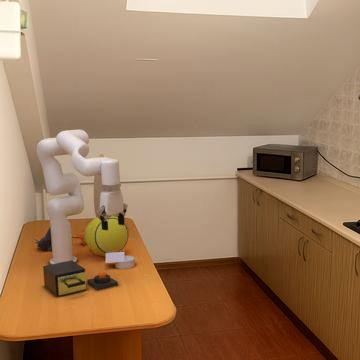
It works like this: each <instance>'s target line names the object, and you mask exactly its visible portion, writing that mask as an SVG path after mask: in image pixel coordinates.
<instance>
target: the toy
mask: <svg viewBox="0 0 360 360" xmlns="http://www.w3.org/2000/svg"><path fill="white" fill-rule="evenodd" d="M104 218H105V216H104ZM107 221H108V230H102V223H101V221H100V219H99V218H98V217H97V218H96V217H95V218H93V219H92V220H91V221H90V222H89V223H87V225H86V227H85V229H86V230H85V229H84V230H85V233H84V240H85V244H86V245H87V246H86V247H88V249H89V250H90V251H91V252H92V253H93V254H95V255H97V256H99V257H105V258H106V253H114V252H122V251H123V249H124V248H125V247H126V246H127V243H128V241H129V235H130V232H129V228H128V226H127V223H125V225H119V224H118V218H117V217H115V216H112V215H111V216H109V217H108V219H107Z"/></svg>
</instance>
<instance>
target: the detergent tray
mask: <svg viewBox="0 0 360 360" xmlns="http://www.w3.org/2000/svg"><path fill="white" fill-rule="evenodd" d="M86 275H87V274H86V271H85V272H76V273H71V274H67V275H62V276H58V277H57V283H58V295H61V296H64V295H63V294H66V295H68V294H67V293H70V294H73V293H72V292H74V293H77V292H76V291H78V292H81V291H80V290H82V291H85V290H84V289H86V290H87V276H86Z"/></svg>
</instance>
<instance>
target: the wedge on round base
mask: <svg viewBox="0 0 360 360" xmlns="http://www.w3.org/2000/svg"><path fill="white" fill-rule="evenodd" d="M111 263H112V264H113V263H114V267H115V268H116V269H120V270H121V269H123V270H125V269H129V268H130V269H131V268H133V267H134V266H135V257H134V256H132V255H125V251H120V252H114V253H106V257H105V264H111Z"/></svg>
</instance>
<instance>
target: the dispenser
mask: <svg viewBox="0 0 360 360" xmlns="http://www.w3.org/2000/svg"><path fill="white" fill-rule="evenodd" d="M42 272H43V285H44V288H45V289H47V290H48V291H49V292H50V293H51V294H53V295H54V296H55V297H60V296H65V295H69V294H74V293H78V292H82V291H86V290H87V288H86V289H84V290H80V291H76V292H72V293H67V294H63V295H58V283H57V277H58V276H62V275H67V274H71V273H76V272H85V273H86V268H84V267H83V266H82V265H80V264H79V263H77V262H74V261H72V260H71V261H66V262H61V263H56V264H46V265H43V266H42Z"/></svg>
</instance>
